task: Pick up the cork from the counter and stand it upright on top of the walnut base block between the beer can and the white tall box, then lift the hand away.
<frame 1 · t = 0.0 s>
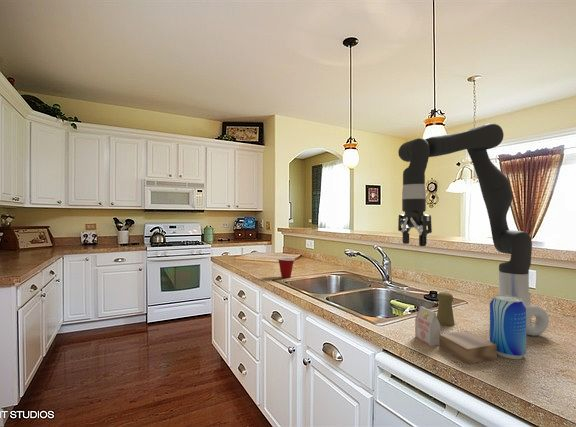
hand: (413, 244, 103), 29 cm above the countertop, tool pointing down, fingers open, 8 cm apart
walnut base: (466, 353, 86), on the countertop
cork: (445, 323, 109), on the countertop
plastic cup: (286, 277, 187), on the countertop
beer can: (507, 354, 86), on the countertop
donut: (533, 336, 98), on the countertop
white tall box: (427, 341, 95), on the countertop
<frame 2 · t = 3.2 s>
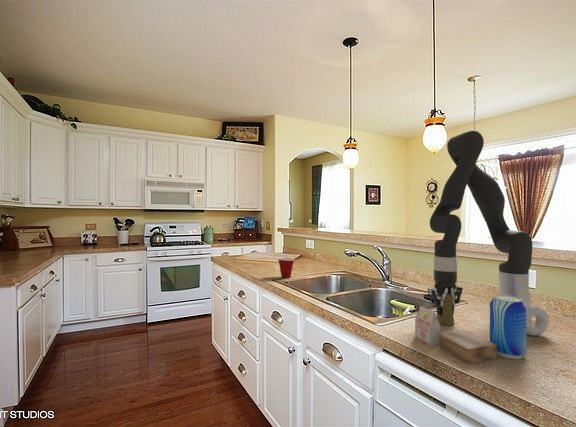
hand: (445, 315, 109), 3 cm above the countertop, tool pointing down, fingers closed on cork, 3 cm apart
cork: (445, 323, 109), on the countertop, touching gripper
everything else where it was.
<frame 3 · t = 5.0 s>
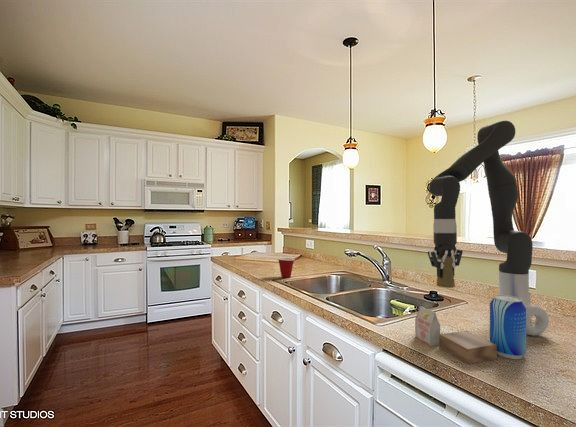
hand: (445, 278, 109), 16 cm above the countertop, tool pointing down, fingers closed on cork, 3 cm apart
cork: (445, 286, 109), point 13 cm above the countertop, touching gripper
everything else where it was.
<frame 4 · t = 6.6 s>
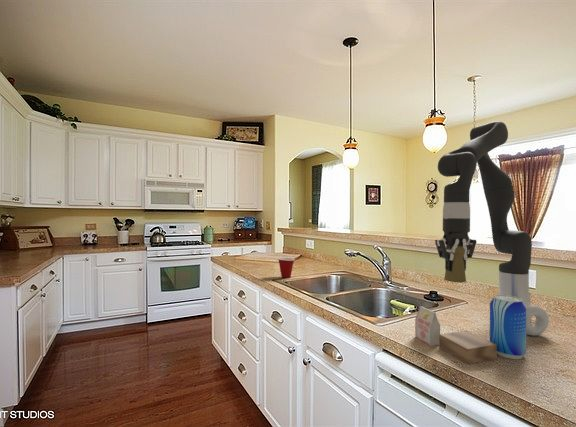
hand: (455, 271, 94), 22 cm above the countertop, tool pointing down, fingers closed on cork, 3 cm apart
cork: (455, 280, 94), point 19 cm above the countertop, touching gripper
everything else where it was.
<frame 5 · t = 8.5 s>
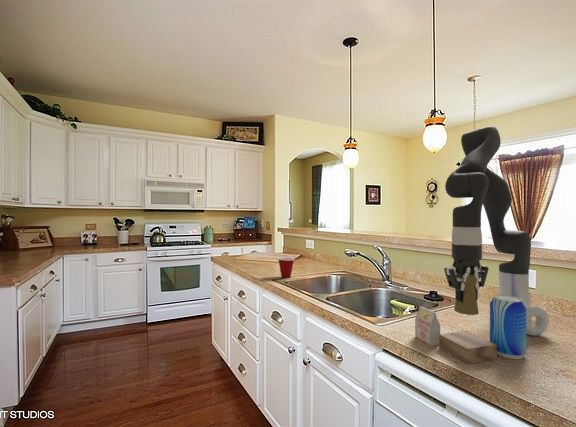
hand: (466, 301, 86), 15 cm above the countertop, tool pointing down, fingers closed on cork, 3 cm apart
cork: (466, 312, 86), point 12 cm above the countertop, touching gripper
everything else where it was.
when the fingers open (8 cm above the countertop, at t = 10.1 s): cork stays where it is, resting on walnut base.
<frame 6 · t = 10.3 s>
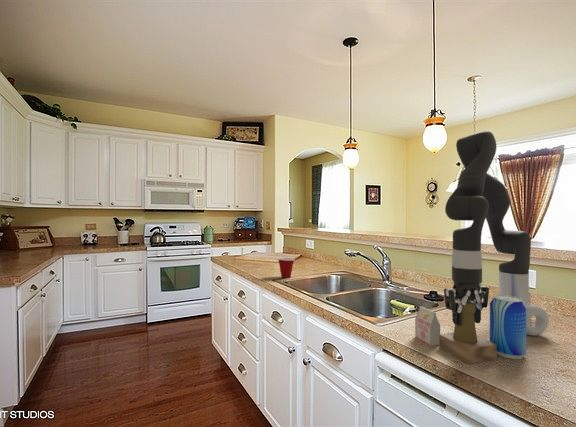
hand: (466, 323, 86), 9 cm above the countertop, tool pointing down, fingers open, 6 cm apart
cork: (465, 339, 86), point 4 cm above the countertop, touching gripper, walnut base
everything else where it was.
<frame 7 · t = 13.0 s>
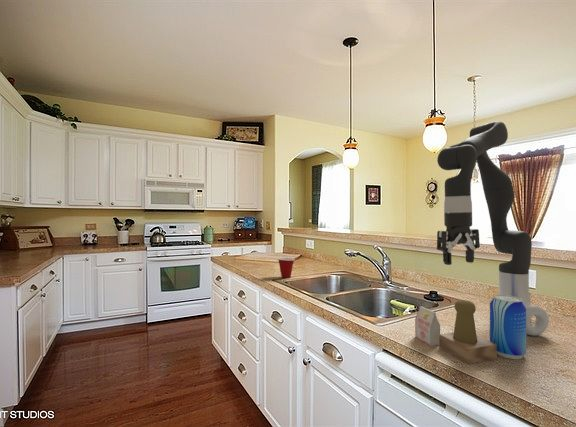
hand: (458, 263, 93), 25 cm above the countertop, tool pointing down, fingers open, 8 cm apart
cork: (465, 340, 86), point 4 cm above the countertop, touching walnut base
everything else where it was.
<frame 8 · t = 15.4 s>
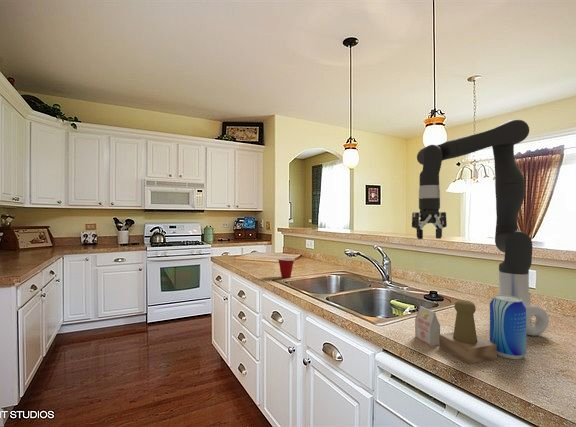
hand: (429, 238, 117), 30 cm above the countertop, tool pointing down, fingers open, 8 cm apart
nothing on the countertop moved.
at the end: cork 0.6 cm off-centre on the walnut base, point 3.8 cm above the walnut base's base; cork tilted 0°; the gripper is holding nothing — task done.
